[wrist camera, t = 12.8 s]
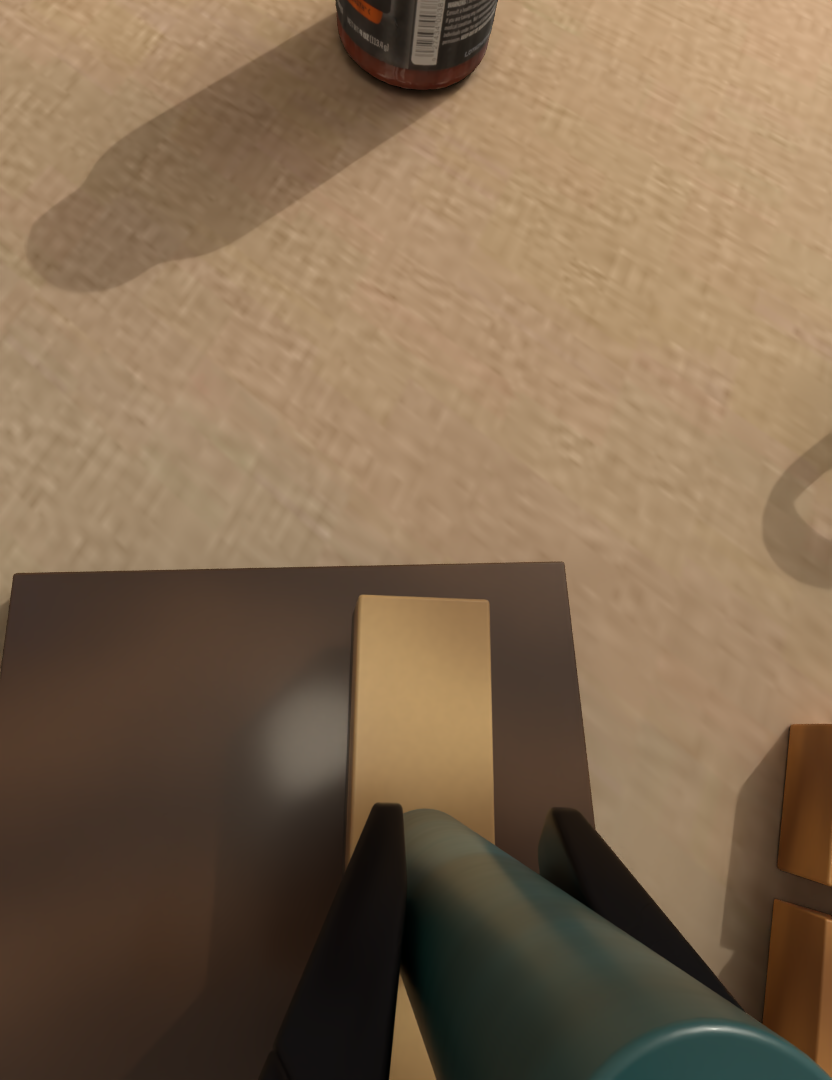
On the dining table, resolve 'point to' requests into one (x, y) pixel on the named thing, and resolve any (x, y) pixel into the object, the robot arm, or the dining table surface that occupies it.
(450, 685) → the brush
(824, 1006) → the brown wooden square block
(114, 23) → the dining table surface
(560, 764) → the shelf board
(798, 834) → the wooden square block
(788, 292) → the dining table surface
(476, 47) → the supplement bottle
